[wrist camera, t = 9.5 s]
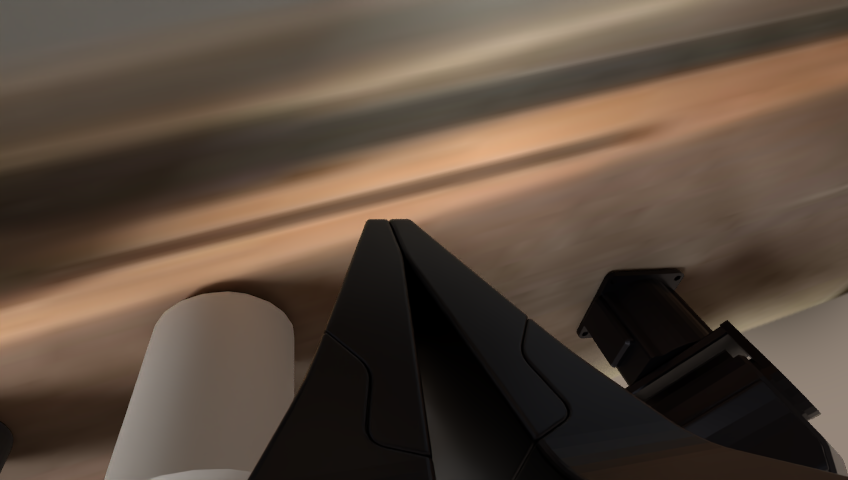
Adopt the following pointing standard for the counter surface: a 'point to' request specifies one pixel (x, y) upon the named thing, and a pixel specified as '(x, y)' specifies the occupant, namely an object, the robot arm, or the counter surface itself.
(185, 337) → the can
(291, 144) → the counter surface
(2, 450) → the travel mug
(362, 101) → the counter surface
